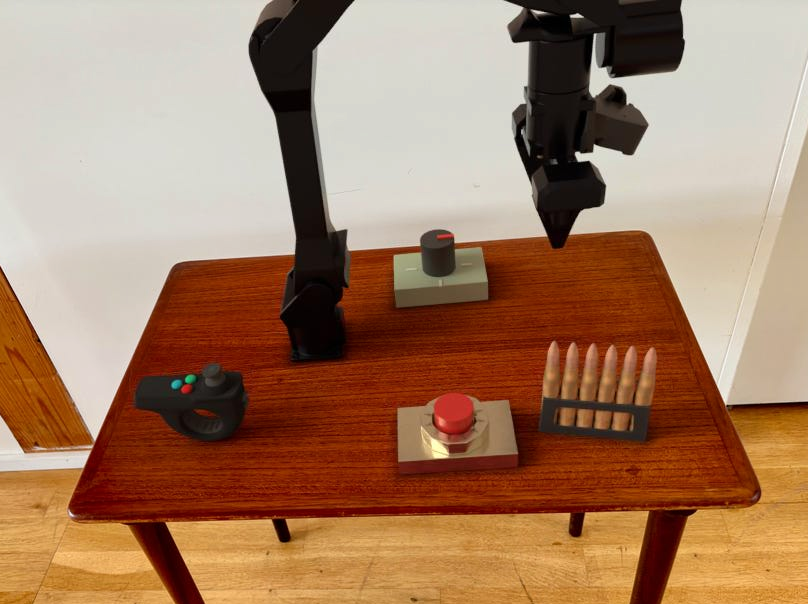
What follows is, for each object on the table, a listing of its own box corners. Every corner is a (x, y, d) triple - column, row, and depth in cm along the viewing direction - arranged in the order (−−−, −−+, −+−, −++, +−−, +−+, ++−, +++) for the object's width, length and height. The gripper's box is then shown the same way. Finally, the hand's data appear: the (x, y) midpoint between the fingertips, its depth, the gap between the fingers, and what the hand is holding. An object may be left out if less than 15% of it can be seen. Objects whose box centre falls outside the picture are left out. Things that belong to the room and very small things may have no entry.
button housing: (400, 475, 73) (396, 449, 70) (398, 421, 79) (395, 396, 76) (518, 467, 72) (518, 441, 69) (508, 413, 78) (508, 387, 75)
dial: (423, 278, 93) (420, 247, 89) (421, 259, 96) (419, 228, 93) (456, 275, 92) (455, 244, 89) (454, 256, 95) (452, 225, 92)
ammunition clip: (645, 428, 74) (663, 341, 66) (646, 441, 72) (664, 354, 64) (539, 418, 76) (544, 334, 68) (538, 431, 75) (543, 346, 67)
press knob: (435, 436, 72) (434, 422, 70) (433, 407, 75) (432, 393, 73) (475, 433, 71) (475, 419, 70) (472, 404, 74) (471, 391, 73)
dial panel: (396, 309, 93) (394, 290, 91) (395, 271, 100) (393, 252, 98) (488, 301, 92) (488, 281, 90) (481, 263, 99) (481, 244, 97)
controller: (254, 447, 78) (232, 382, 72) (149, 448, 80) (117, 385, 74) (262, 418, 82) (241, 354, 75) (161, 420, 83) (131, 357, 77)
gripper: (676, 114, 60) (649, 267, 70) (621, 38, 73) (605, 175, 84) (541, 128, 61) (534, 277, 71) (512, 51, 74) (510, 185, 85)
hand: (549, 224), depth 78 cm, fingers open, 9 cm apart
